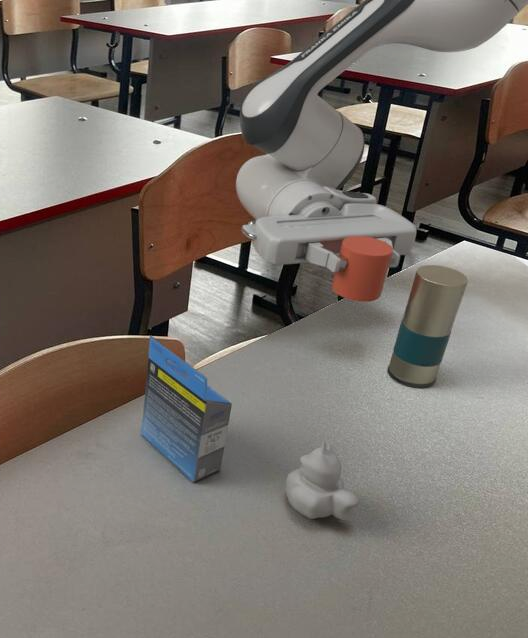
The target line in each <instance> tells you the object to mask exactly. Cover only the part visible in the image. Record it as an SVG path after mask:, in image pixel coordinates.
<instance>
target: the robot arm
mask: <svg viewBox="0 0 528 638" xmlns="http://www.w3.org/2000/svg"><path fill="white" fill-rule="evenodd" d="M527 5H528V0H363V1H362V2H361V3H359V4H358V5H357V6H356V7H355V8H353V9H352V10H351V11H350V12H348V13H347V14H346V15H345V16H344V17H342V18H341V19H340V20H339V21H338V22H336V23H335V24H334V25H333V26H331V27H330V28H329V29H328V30H327V31H325V32H324V33H323V34H322V35H320V36H319V37H318V38H317V39H316V40H315V41H313V42H311V44H310V45H309V46H307V47H306V48H305V49H304V50H303V51H302V52H300V53H299V54H298V55H296V56H295V57H294V58H293V59H292V60H290V61H289V62H287V63H286V64H285V65H284V66H282V67H280V68H279V69H277V70H276V71H274V72H272V73H271V74H269V75H268V76H266V77H264V78H263V79H262V80H260V81H259V82H257V83H256V84H255V85H254V86H253V87H252V88H251V89H250V90H249V91H248V93H247V94H246V95H245V97H244V98H243V100H242V103H241V105H240V110H239V127H240V132H241V136H242V139H243V141H245V143H247V144H249V145H250V146H252V147H254V148H256V149H257V150H259V151H260V152H263V153H265V154H262V155H258V156H254V157H252V158H250V159H247V161H245V163H243V164H242V166H241V167H240V169H239V170H238V172H237V175H236V180H235V192H236V195H237V198H238V200H239V202H240V204H241V205H242V207H243V208H244V209H245V210H246V212H247V213H248V214H249V215H250V216H251V217H252V218H253V219H254V220H250V221H248V222H247V223H246V224H243V225H242V227H241V232H242V234H243V235H244V236H246V237H247V238H248V239H251V244H252V247H253V248H254V251H255V252H256V253H257V254H258V256H259V257H260V258H261V259H262V260H263V261H264V262H265V263H267V264H271V265H273V266H282V265H295V264H306V263H307V264H309V263H310V264H313V265H316V266H319V267H323V268H326V269H328V270H329V271H330V272H331V273H335V272H343V271H346V265H347V264H348V259H347V258H346V257H345V256H343V255H342V254H341V253H340V250H341V246H342V242H343V240H344V239H345V238H347V237H352V236H364V237H371V238H375V239H379V240H381V241H384V242H386V243H388V244H389V245H390V246H391V247H392V248H393V253H392V256H391V260H390V264H389V267H388V269H389V268H390V269H391V268H398V267H399V264H400V260H401V256H406V255H410V253H411V252H412V249H413V247H414V244H415V241H416V237H417V227H416V225H415V224H414V223H413V222H411V221H410V220H409V219H407V218H406V217H405V216H403V215H401V214H400V213H398V212H396V211H395V210H393V209H391V208H389V207H388V206H385V205H382V204H378V203H377V198H376V197H375V196H374V195H372V194H370V193H366V192H356V191H348V190H341V189H342V188H343V187H344V186H346V185H347V183H348V182H349V181H350V179H352V177H353V176H354V174H355V173H356V171H357V170H358V167H359V166H360V164H361V162H362V159H363V156H364V152H365V145H366V143H365V134H364V132H363V130H362V129H361V128H360V127H359V126H358V125H356V124H355V123H354V122H352V120H350V118H348V117H347V116H346V115H344V114H343V113H342V112H340V110H338V109H335V108H334V107H333V106H332V105H330V104H329V103H328V102H327V101H326V100H324V99H323V98H322V97H321V96H319V95H318V94H319V92H320V91H322V89H324V88H325V87H326V86H327V85H328V84H330V83H331V82H333V81H334V80H335V79H336V78H337V77H338V76H340V75H341V74H342V73H344V72H345V71H346V70H347V69H348V68H350V67H351V66H352V65H354V64H355V63H356V62H357V61H359V60H360V59H361V58H362V57H364V56H365V55H366V54H367V53H369V52H371V51H372V50H374V49H376V48H379V47H382V46H384V45H391V44H399V45H400V44H401V45H408V46H413V47H417V48H421V49H425V50H428V51H431V52H437V53H460V52H465V51H469V50H472V49H476V48H478V47H480V46H481V45H482V44H484V43H486V42H488V41H489V40H491V39H492V38H493V37H494V36H495V35H497V34H498V33H499V32H501V31H502V29H504V28H505V27H506V26H507V25H508V24H509V23H510V22H511V21H512V20H513V19H514V18H515V17H516V16H517V15H518V14H519V13H520V12H521V11H523V10H524V8H525V7H527Z"/></svg>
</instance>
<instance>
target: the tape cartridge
mask: <svg viewBox="0 0 528 638" xmlns="http://www.w3.org/2000/svg"><path fill="white" fill-rule="evenodd" d="M148 342H149V343H148V356H147V366H146V367H147V368H146V369H147V370H146V379H145V389H144V390H145V391H144V400H143V401H144V402H143V410H142V421H141V430H140V434H141V436H142V437H143V438H145V439H146V441H148V442H149V443H150V444H151V445H152V446H153V447H154V448H155V449H157V450H158V451H159V452H160V453H161V454H162V455H163V456H164V457H165V458H166V459H167V460H168V461H169V462H171V464H173V465H174V466H175V467H176V468H177V469H178V470H179V471H181V472H182V473H183V475H185V476H186V477H187V478H188V479H189V480H190V481H191V482H193V483H195V482H199V481H200V480H202V479H205V478H207V477H209V476H210V475H213V474H216V473H218V472H220V471H221V469H222V462H223V457H224V452H225V447H226V446H225V445H226V440H227V435H228V429H229V422H230V417H231V412H232V406H233V403H232V402H231V401H230V400H228V399H227V398H226V397H224V396H223V395H222V394H220V393H219V392H217V391H216V390H214V388H212V387H211V386H209V385H208V377H207V376H206V375H205V374H203V373H201V372H200V371H199V370H197V369H196V368H195V367H193V366H192V365H191V364H189V363H188V362H187V361H186V360H184V359H183V358H182V357H180V356H179V355H178V354H176V353H175V352H174V351H172V350H171V349H169V348H168V347H167V346H165V345H164V344H163V343H161V342H160V341H159V340H158V339H156V338H155V337H154V336H152V335H149V341H148Z"/></svg>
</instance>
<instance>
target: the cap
mask: <svg viewBox="0 0 528 638" xmlns="http://www.w3.org/2000/svg"><path fill="white" fill-rule="evenodd" d="M340 253H341V254H342V255H343V256H345V257H346V258H347V259H348V264H347V265H346V271H343V272H334V275H333V280H332V283H331V289H332V292H334V293H335V294H336V295H338V296H340V297H342V298H344V299H347V300H350V301H355V302H362V303H369V302H370V303H371V302H374V301H377V300H379V299H380V298H381V295H382V292H383V289H384V285H385V281H386V277H387V275H388V271H389V268H388V267H389V264H390V260H391V256H392V253H393V248H392V247H391V246H390V245H389V244H388V243H386V242H384V241H381V240H379V239H375V238H371V237H364V236H352V237H347V238H345V239H344V240H343V242H342V246H341V250H340Z"/></svg>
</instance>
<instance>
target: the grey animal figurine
mask: <svg viewBox="0 0 528 638" xmlns="http://www.w3.org/2000/svg"><path fill="white" fill-rule="evenodd" d="M299 460H300V464H301V466H300V468H297V469H294V470H292V471H291V472H290V473H288V475H287V476H286V481H285V491H286V492H285V493H286V496H287V500H288V502H289V504H290V506H291V507H292V508H293V509H294V510H296V512H298V513H299V514H301V515H302V516H305V517H306V518H308V519H310V520H315V519H318V518H319V519H321V518H326V517H327V518H328V517H329V516H332V517H335V518H337V519H339V520H343V521H346V520H347V521H348V520H349V519H350V518H351V517H352V511H353V510H354V509H355V508H356V507H357V506H358V504H359V498H358V496H357V495H356V494H355V493H353V492H352V491H350V490H348V489H346V488H345V489H344V487H345V486H344V485H345V484H344V483H345V482H344V479H343V478H342V477H341V474H342V463H341V460H340V458H339V456H338V454H337V452H336V451H335V449H334V447H333V446H332V445H329V446H327V444H326V440H325V439H324V440H323V441H322V444H321V446H320V447H317V448H315V449H313V450H312V451H310V453H308V454H304V455H302V456H301V457H300V459H299Z"/></svg>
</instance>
